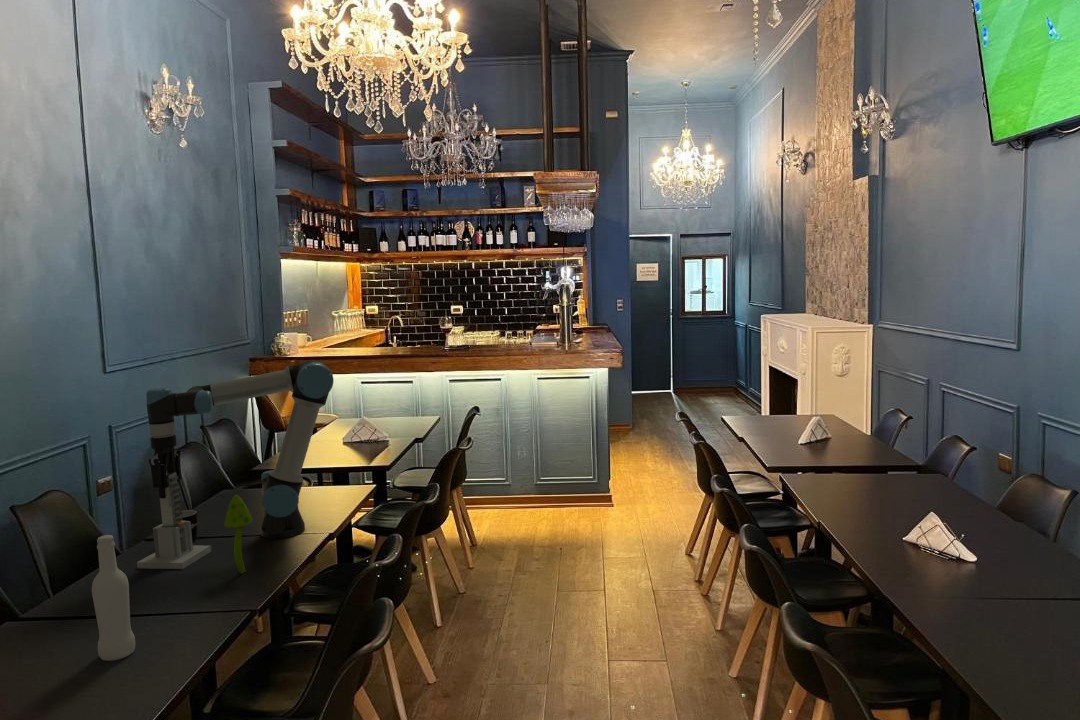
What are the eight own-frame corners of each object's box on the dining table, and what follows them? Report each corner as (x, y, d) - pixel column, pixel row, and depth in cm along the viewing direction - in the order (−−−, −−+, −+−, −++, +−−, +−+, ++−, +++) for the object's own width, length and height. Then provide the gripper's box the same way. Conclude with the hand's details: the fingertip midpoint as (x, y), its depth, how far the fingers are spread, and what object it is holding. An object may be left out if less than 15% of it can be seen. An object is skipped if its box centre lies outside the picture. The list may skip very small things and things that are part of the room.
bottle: (108, 647, 194) (95, 532, 191) (141, 645, 195) (129, 529, 192) (92, 663, 186) (78, 543, 183) (127, 660, 187) (114, 540, 184)
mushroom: (263, 569, 244) (256, 491, 242) (242, 578, 237) (235, 499, 234) (243, 566, 248) (236, 490, 245) (222, 575, 240) (215, 497, 238)
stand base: (211, 551, 263) (207, 515, 262) (182, 568, 248) (179, 530, 246) (168, 550, 266) (164, 515, 265) (137, 568, 250) (133, 530, 249)
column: (184, 536, 258) (178, 472, 255) (177, 540, 254) (170, 475, 251) (171, 536, 258) (165, 472, 256) (163, 540, 254) (157, 475, 252)
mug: (192, 545, 271) (189, 517, 269) (166, 546, 271) (164, 518, 270) (207, 534, 282) (205, 507, 281) (183, 534, 283) (181, 507, 282)
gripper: (168, 430, 261) (175, 497, 264) (135, 441, 244) (142, 513, 247) (189, 430, 260) (195, 497, 263) (156, 440, 243) (164, 513, 246)
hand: (170, 505), depth 255 cm, fingers closed on column, 4 cm apart
